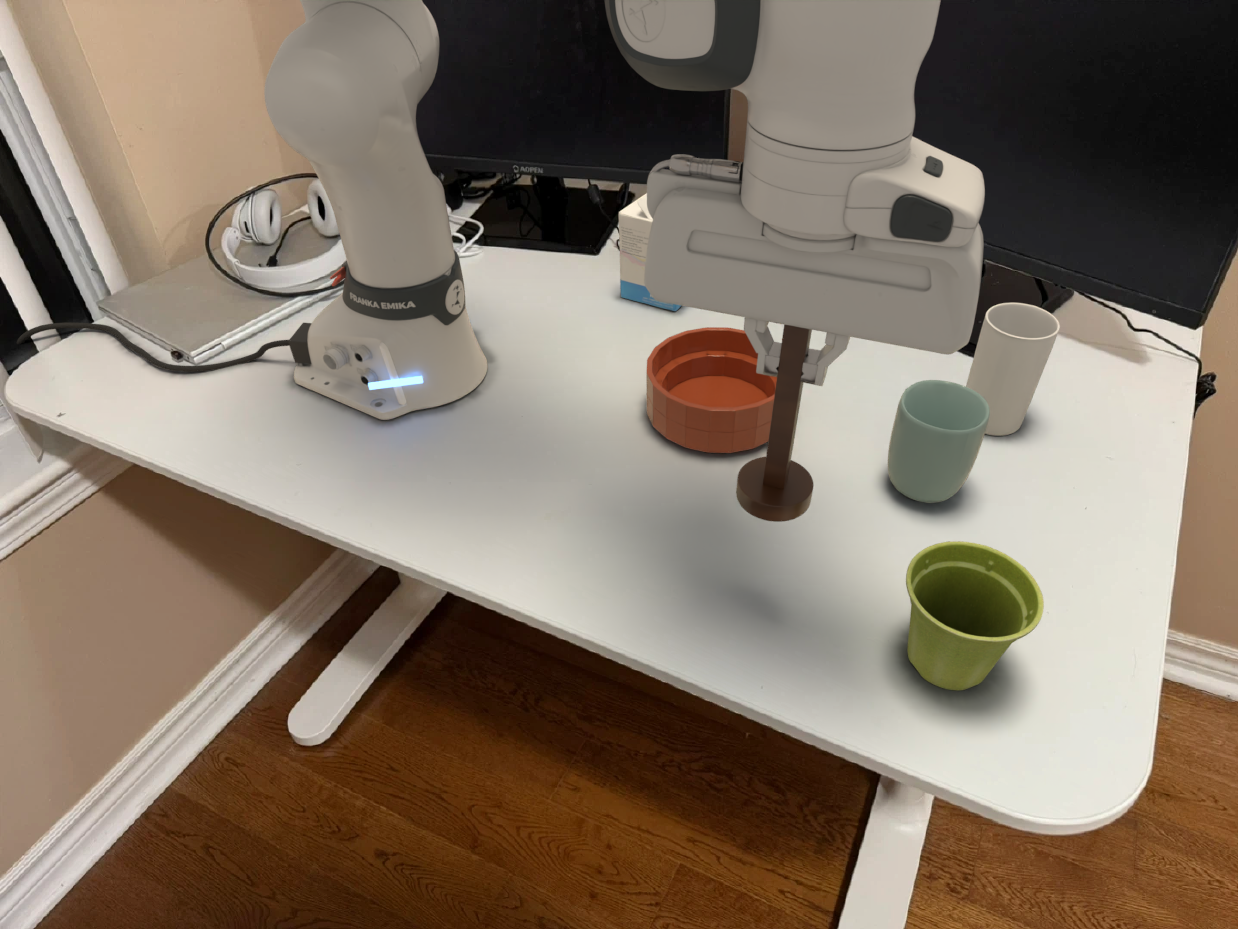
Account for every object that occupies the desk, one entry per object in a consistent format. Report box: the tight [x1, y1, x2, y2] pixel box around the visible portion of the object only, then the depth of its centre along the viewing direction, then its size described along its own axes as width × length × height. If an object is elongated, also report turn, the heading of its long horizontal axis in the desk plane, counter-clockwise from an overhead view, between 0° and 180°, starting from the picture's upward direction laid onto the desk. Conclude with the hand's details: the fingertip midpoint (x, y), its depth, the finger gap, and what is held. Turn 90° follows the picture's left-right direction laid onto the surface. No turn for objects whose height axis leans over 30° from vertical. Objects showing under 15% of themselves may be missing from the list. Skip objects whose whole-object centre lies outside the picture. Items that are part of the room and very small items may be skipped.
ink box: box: [618, 192, 682, 312], centre depth 107 cm, size 9×8×13 cm
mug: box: [965, 302, 1061, 437], centre depth 87 cm, size 10×7×12 cm, turn 145°
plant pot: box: [905, 540, 1045, 691], centre depth 64 cm, size 9×9×9 cm
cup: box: [887, 379, 990, 504], centre depth 79 cm, size 8×8×10 cm
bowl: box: [645, 326, 777, 454], centre depth 90 cm, size 15×15×6 cm
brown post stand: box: [735, 324, 814, 523], centre depth 58 cm, size 6×6×18 cm
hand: (791, 375), depth 57 cm, fingers closed on brown post stand
